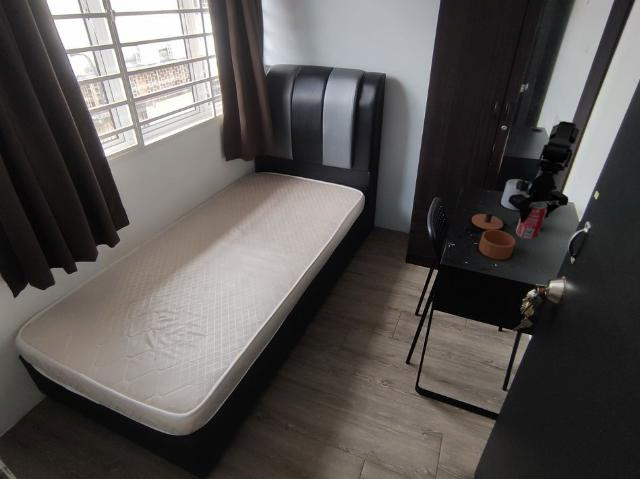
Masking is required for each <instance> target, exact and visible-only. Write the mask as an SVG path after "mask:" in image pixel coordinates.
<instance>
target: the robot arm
mask: <svg viewBox="0 0 640 479" xmlns="http://www.w3.org/2000/svg"><path fill="white" fill-rule="evenodd" d="M576 126H577V123H575V122H571V121H565V120H561V121H559V123H557V124H555V125H553V126H552V128H551V131H550V133H549V136H548V142H547V144H546V143H545V144H544V145H543V147H542V150H541V152H540V156H539V158H538V161H537V163H536V166H537V167H539V169H538V171H537V173H536V176H535V177H534V179H533V180H532V179H531V181H527V182H525V181H526V180H524V181H523V179H518V182H517V184H516V189H517V190H520V192H522V191H524V192H526V194H527V195H530V197H529V198H526V197H525V196H523V195H522V194H517V195H511V196H510V197H509V200H508V202H509V203H510V204H512V205H513V206H514V207H515V208H517V209H519V210H518V211H519V220H520V219H521V222H522V223H523V222H524V221H525V220H526V219H527V217H528V216H529V214H530V212H531V211H532V209H531V208H530V205H531V203H541V202H545V203H546V204H547V212H546V215H545V218H544V220H546V218H549V215H550V214H551V213H552V212H554V211H555V210H556V209H559V208H560V207H563V206H567V205H568V203H569V196H567V195H566V194H564V193H563V192H561V191H560V190H557V188H558V186H557V185H556V182H557V180H558V178H559V174H560V172H564V171H565V169H566V168H568V167H569V164H570V162H571V159H572V156H573V154H574V153H573V149H572V145H575V143H576V141H577V138H578V136H579V134H580V129H579V128H578V127H576ZM518 223H519V221H518ZM518 223H517V224H518ZM540 231H542V227H541V228H540Z"/></svg>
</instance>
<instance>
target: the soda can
mask: <svg viewBox="0 0 640 479" xmlns="http://www.w3.org/2000/svg"><path fill="white" fill-rule="evenodd" d="M530 208H531V209H532V211H531V212H530V214H529V216H528V217H527V219H526V220H525V221H524V222H523V223H522V222H521V219H520V218H519V220H518V222H519V223H517V225H516V226H517V227H516V228H515V233H516V235H517V237H519V238H520V239H522V240H527V241H532V240H535V239H537V238H538V236H539V233H540V231H541V230H540V228H541V229H542V225H543V222H544V221H545V219H546V218H545V215H546V212H547V204H546V203H545V202H541V203H531V205H530ZM544 218H545V219H544Z"/></svg>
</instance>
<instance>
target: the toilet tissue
mask: <svg viewBox="0 0 640 479" xmlns="http://www.w3.org/2000/svg"><path fill="white" fill-rule="evenodd" d="M518 180H519V179H518V178H513V179H509V180H507V181H506V182H505V186H504V191H503V193H502V197H501V200H500V204H501V205H502V206H503V207H504V208H506V209H508V210H512V211H520V210H519V209H517V208H515V207H514V206H513V205H512V204H510V203H509V202H508V200H509V197H510V196H511V195H517V194H522V195H523V196H525V197H526V198H529V197H530V195H527V194H526V192H524V191H522V192H520V190H517V189H516V184H517V182H518ZM522 180H523V179H522ZM523 181H524V180H523ZM525 182H528V181H526V180H525Z"/></svg>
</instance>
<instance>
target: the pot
mask: <svg viewBox="0 0 640 479" xmlns="http://www.w3.org/2000/svg"><path fill="white" fill-rule="evenodd" d="M516 243H517V241H516V239H515V237H514V236H513V235H512V234H510V233H508V232H506V231H503V230H501V229H499V230H485V231H483V233H482V235H481V237H480V241H479V244H478V250H479V251H480V253H482V254H483V255H484V256H485V257H487V258H490V259H493V260H502V261H503V260H508V259H509V258H511V257H512V254H513V251H514V249H515V246H516Z"/></svg>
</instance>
